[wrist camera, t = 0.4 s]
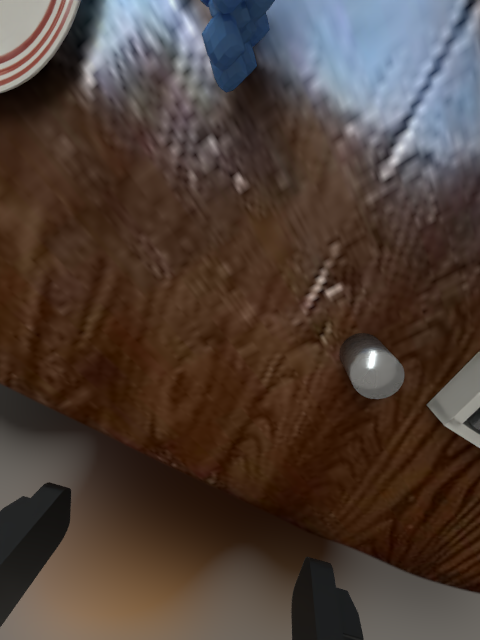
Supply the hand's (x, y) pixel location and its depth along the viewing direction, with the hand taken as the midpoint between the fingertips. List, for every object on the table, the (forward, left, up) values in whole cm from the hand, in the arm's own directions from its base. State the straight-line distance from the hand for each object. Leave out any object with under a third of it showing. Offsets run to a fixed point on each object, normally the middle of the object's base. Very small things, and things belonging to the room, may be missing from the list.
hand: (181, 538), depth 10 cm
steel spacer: (-4, +13, -26) cm, 29 cm away
